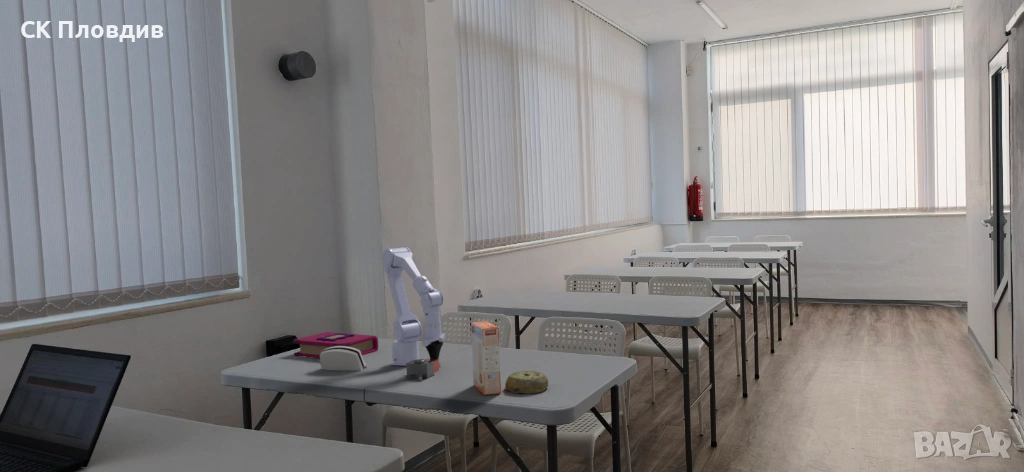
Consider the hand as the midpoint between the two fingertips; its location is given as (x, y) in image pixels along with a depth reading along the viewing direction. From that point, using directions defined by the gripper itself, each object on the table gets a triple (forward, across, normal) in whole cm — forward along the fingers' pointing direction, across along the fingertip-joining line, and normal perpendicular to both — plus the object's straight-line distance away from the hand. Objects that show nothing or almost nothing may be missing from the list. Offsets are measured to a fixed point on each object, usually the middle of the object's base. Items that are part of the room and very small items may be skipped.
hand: (434, 362), depth 253 cm
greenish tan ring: (+3, -17, -42) cm, 45 cm away
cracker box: (+3, -21, -30) cm, 37 cm away
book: (+3, +17, +55) cm, 58 cm away
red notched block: (+3, -4, 0) cm, 5 cm away
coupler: (+3, -7, 0) cm, 7 cm away
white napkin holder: (+3, -8, +34) cm, 35 cm away
